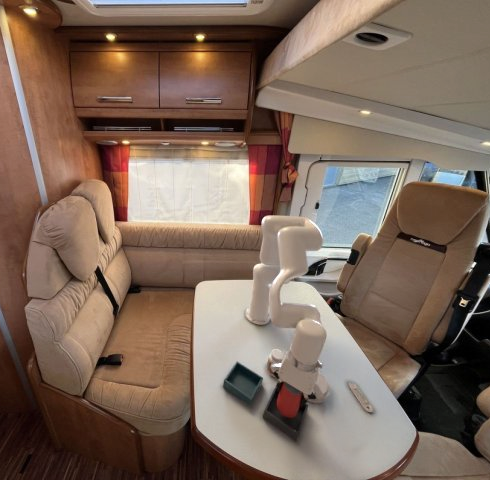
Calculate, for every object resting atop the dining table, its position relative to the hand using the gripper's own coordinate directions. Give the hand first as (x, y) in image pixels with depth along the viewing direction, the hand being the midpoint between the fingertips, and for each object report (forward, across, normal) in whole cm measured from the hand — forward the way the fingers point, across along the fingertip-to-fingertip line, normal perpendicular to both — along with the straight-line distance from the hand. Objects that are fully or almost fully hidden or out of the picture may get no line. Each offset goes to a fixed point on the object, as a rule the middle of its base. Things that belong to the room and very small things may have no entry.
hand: (290, 395), depth 76 cm
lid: (+11, -4, -16) cm, 19 cm away
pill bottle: (+11, +9, -14) cm, 20 cm away
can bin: (+11, 0, 0) cm, 11 cm away
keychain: (+11, -20, -24) cm, 33 cm away
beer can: (+7, 0, 0) cm, 7 cm away
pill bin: (+11, +16, 0) cm, 19 cm away
